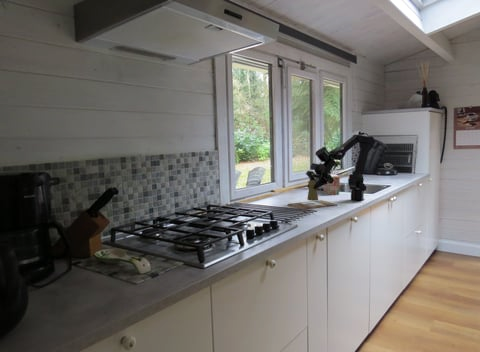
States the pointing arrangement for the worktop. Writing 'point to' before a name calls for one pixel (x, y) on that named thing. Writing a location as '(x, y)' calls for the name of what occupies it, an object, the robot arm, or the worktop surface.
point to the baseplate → (312, 204)
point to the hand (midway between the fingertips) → (311, 188)
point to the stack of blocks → (333, 186)
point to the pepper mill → (312, 191)
